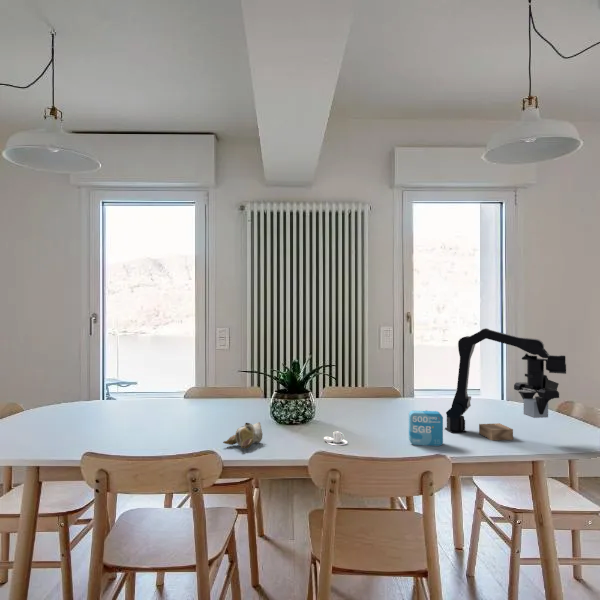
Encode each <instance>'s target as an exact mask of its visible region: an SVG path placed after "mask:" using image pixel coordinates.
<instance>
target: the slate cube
mask: <svg viewBox="0 0 600 600" xmlns="http://www.w3.org/2000/svg"><path fill="white" fill-rule="evenodd" d="M523 415H524V416H528V417H530V418H534V419H540V418H544V419H545V418H549V402H548V403H547V405H546V408H545V410H544V413H543V414H542V415H540V414H539V411H538V407H537V403H536V399H535V397H533V399H524V400H523Z"/></svg>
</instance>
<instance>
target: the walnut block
mask: <svg viewBox="0 0 600 600" xmlns="http://www.w3.org/2000/svg"><path fill="white" fill-rule="evenodd" d="M478 431H479V432H478V434H479V435H480V434H481V435H480V436H482V435H483V436H482V437H484V436H485V438H486V437H487V438H486V439H488V440H490V441H507V440H508V441H510V440H511V441H512V440H514V429H513V428H511V427H508V426H507V425H504V424H502V423H499V422H498V423H479V424H478Z"/></svg>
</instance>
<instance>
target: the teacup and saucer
mask: <svg viewBox="0 0 600 600" xmlns="http://www.w3.org/2000/svg"><path fill="white" fill-rule="evenodd" d="M332 434H333V437H331V436H324V437H323V441H324V442H326V443H327V444H328V445H330V446H331V445H333V446H344V445H347V444H348V441H347V440H346V439H344V438H345V434H343V433H342V432H341V431H337V430H336V431H333V432H332ZM342 436H343V437H342ZM332 442H334V443H332ZM341 442H343V443H341ZM340 443H341V444H340Z"/></svg>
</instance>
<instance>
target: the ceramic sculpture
mask: <svg viewBox="0 0 600 600" xmlns="http://www.w3.org/2000/svg"><path fill="white" fill-rule="evenodd" d="M262 440H263V429H262V425H261V422H259V421H258V422H256V423H254V424H252V423H249V422H245V423H244V425H243V426H240V427H239V428H237V429H236V431H235V434H233V435H232V436H230V437H229V438H228V439H227V440H223V442H222V443H223V444H226V445H230V446H233V445H236V444H237V445H238V446H240V448H241V449H249V447H251V445H253V444H254V443H256V444H257V443H260V442H262Z"/></svg>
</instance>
